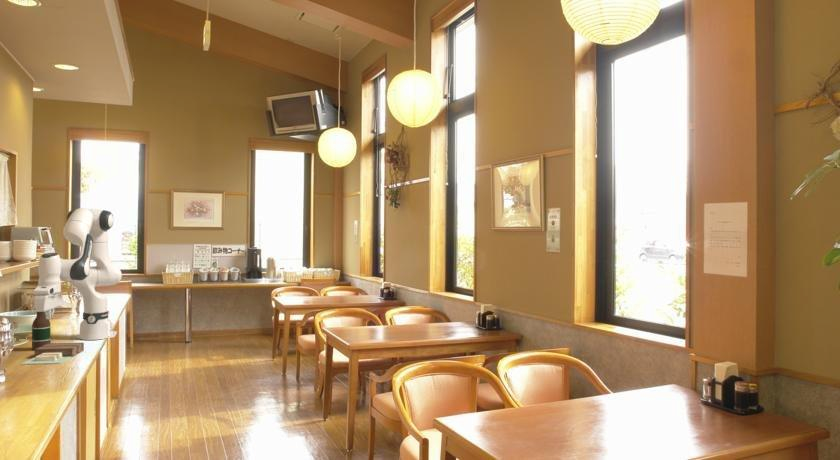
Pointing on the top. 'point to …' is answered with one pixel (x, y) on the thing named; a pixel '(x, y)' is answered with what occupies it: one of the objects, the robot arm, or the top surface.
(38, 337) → the beer bottle
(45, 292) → the robot arm
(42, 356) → the birch tile
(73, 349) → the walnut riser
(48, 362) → the rubber mat
